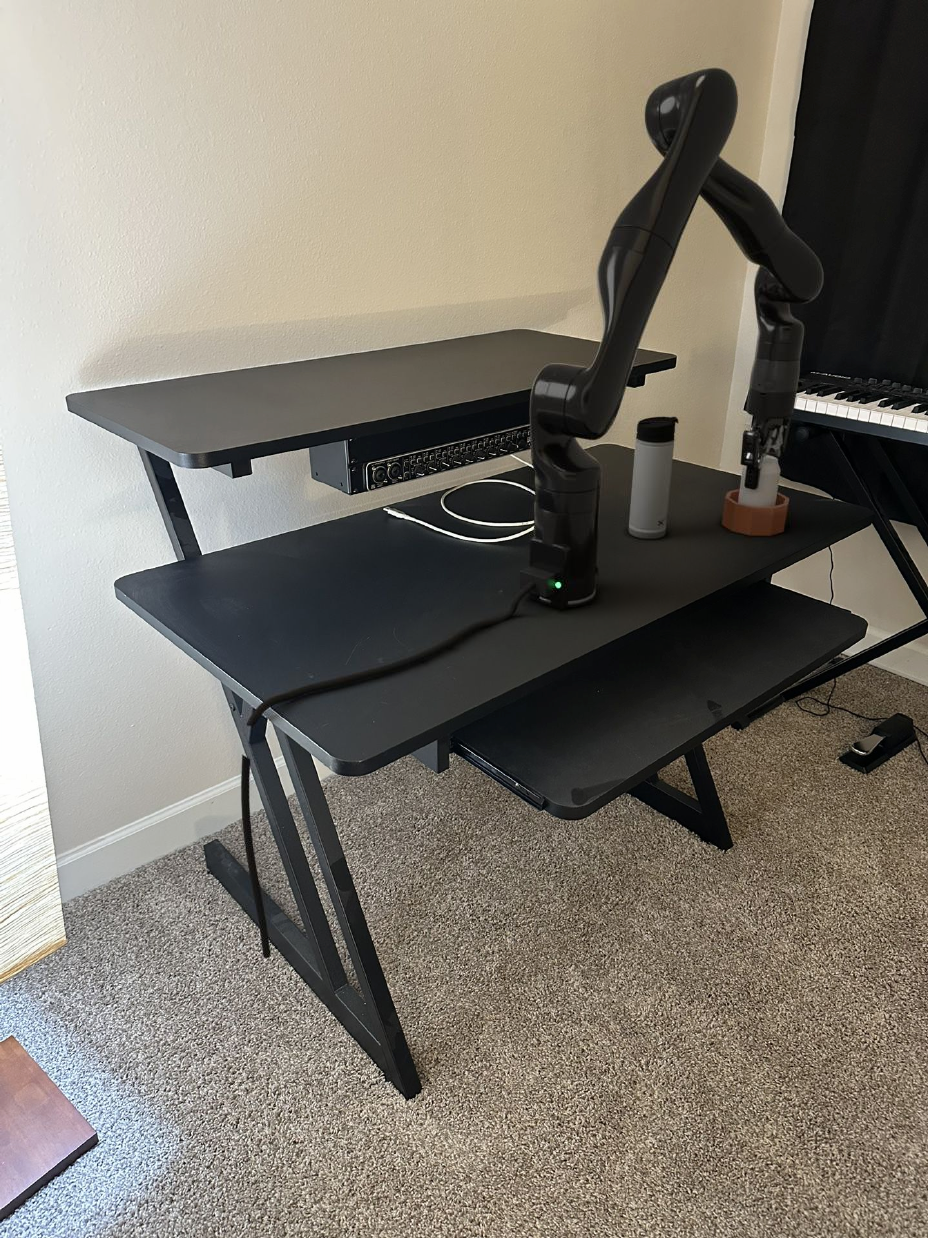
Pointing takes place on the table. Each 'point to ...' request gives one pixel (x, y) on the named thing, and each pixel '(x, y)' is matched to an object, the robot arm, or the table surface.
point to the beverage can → (762, 485)
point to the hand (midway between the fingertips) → (759, 482)
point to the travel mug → (652, 477)
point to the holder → (754, 516)
